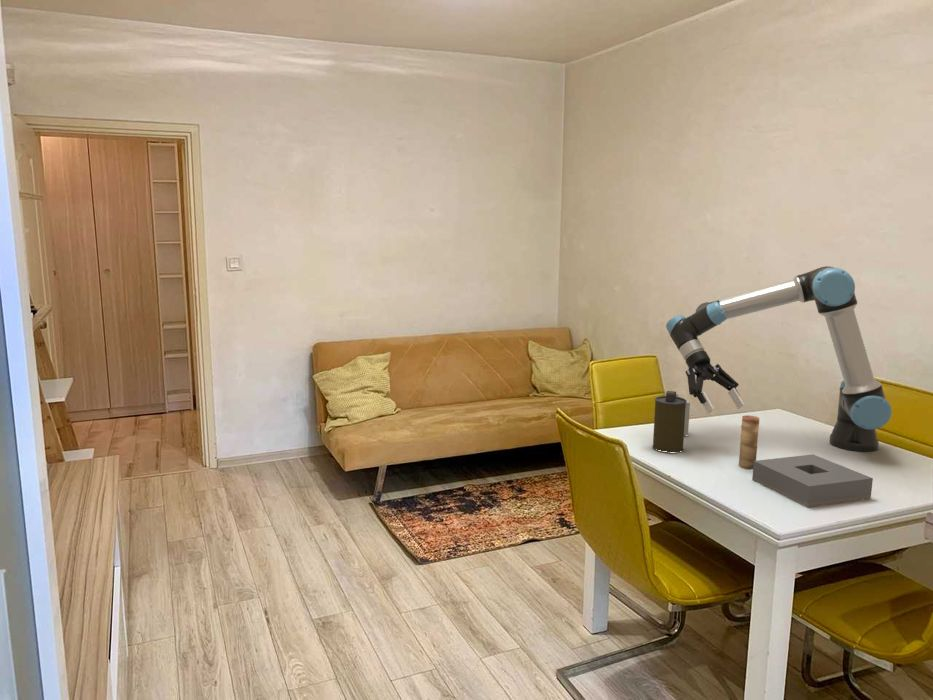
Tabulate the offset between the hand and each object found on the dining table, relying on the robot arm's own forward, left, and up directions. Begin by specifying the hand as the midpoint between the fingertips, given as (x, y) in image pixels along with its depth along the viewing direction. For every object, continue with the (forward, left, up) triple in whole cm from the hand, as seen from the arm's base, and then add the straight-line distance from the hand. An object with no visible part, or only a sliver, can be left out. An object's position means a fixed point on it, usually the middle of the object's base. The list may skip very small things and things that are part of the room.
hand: (726, 408), depth 231 cm
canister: (+12, -14, -17) cm, 25 cm away
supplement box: (-1, -29, -17) cm, 33 cm away
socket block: (-6, +31, -17) cm, 36 cm away
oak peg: (-2, +9, -17) cm, 19 cm away
